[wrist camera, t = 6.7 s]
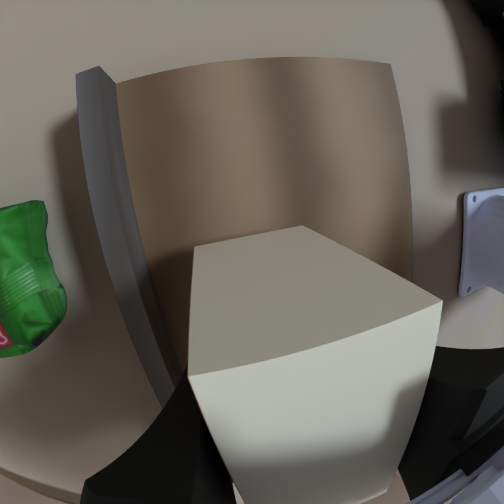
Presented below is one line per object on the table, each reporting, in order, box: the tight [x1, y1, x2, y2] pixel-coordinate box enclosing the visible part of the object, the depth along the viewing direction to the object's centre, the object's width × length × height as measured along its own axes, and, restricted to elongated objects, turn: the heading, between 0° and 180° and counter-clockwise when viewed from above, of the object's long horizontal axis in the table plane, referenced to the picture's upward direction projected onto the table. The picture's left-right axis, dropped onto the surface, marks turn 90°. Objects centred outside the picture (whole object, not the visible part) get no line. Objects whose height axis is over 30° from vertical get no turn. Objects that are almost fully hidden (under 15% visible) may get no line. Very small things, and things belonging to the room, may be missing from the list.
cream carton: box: [187, 225, 443, 504], centre depth 9 cm, size 5×8×8 cm, turn 9°
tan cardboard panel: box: [76, 57, 412, 486], centre depth 14 cm, size 15×28×4 cm, turn 9°
